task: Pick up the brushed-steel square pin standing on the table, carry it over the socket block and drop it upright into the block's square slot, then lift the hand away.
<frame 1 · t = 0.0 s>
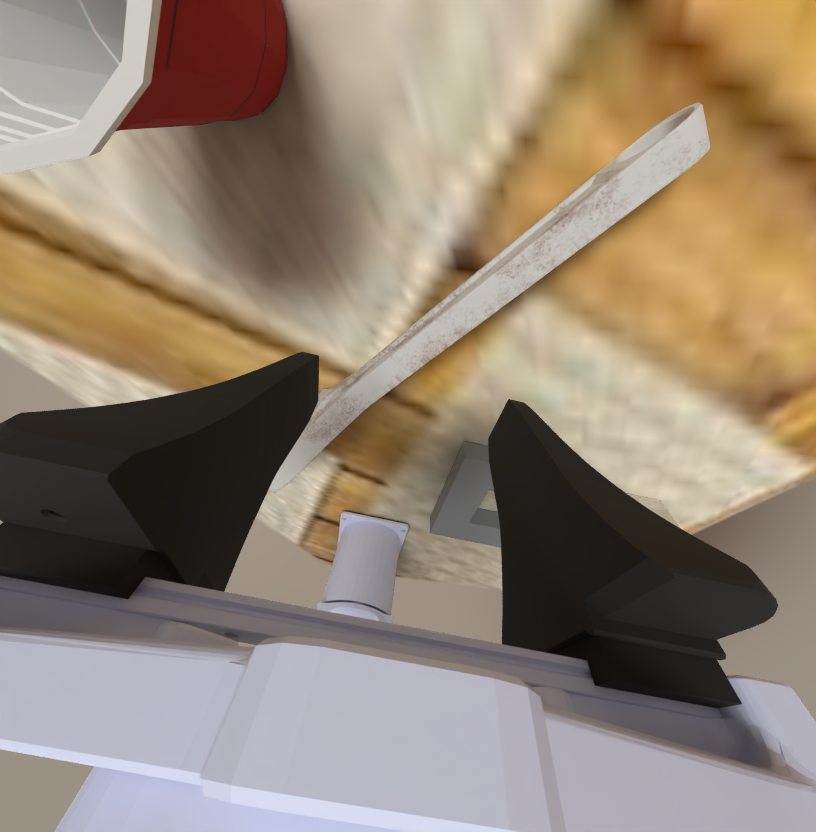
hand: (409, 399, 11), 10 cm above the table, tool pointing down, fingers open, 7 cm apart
plastic cup: (230, 25, 13), on the table
wrench: (420, 325, 20), on the table
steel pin: (626, 508, 29), on the table
socket block: (502, 495, 29), on the table
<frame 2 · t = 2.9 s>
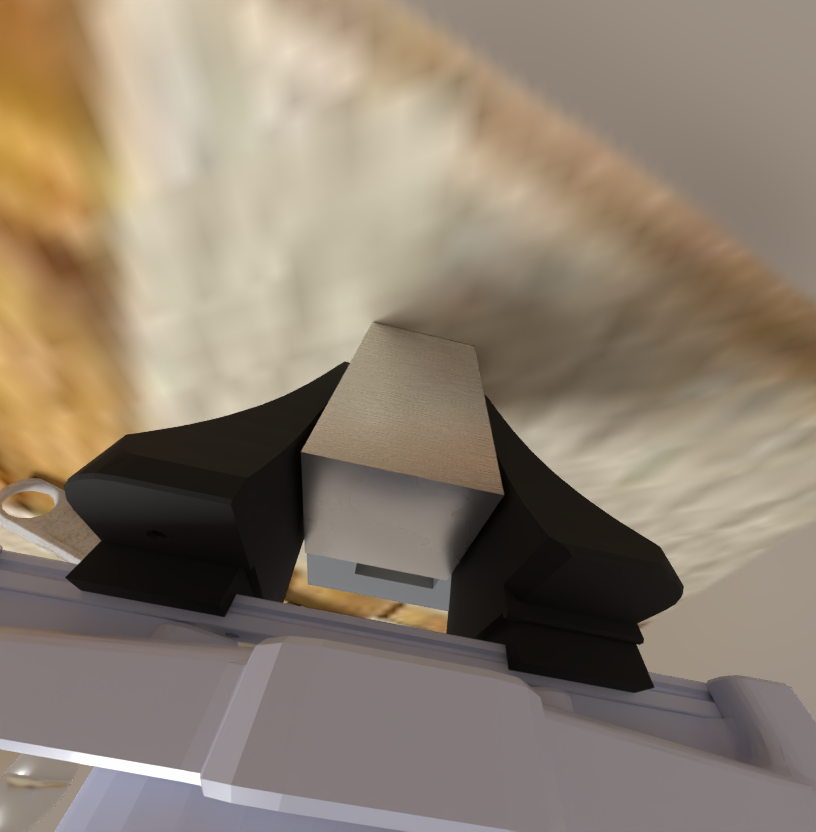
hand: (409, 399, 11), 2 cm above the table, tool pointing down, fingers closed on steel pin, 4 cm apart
wrench: (219, 563, 27), on the table
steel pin: (413, 378, 12), on the table, touching gripper
socket block: (404, 533, 20), on the table
plastic bottle: (142, 628, 43), on the table
when the fingers open (3 cm above the table, at t = 7.2 s): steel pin drops 1 cm, resting in socket block.
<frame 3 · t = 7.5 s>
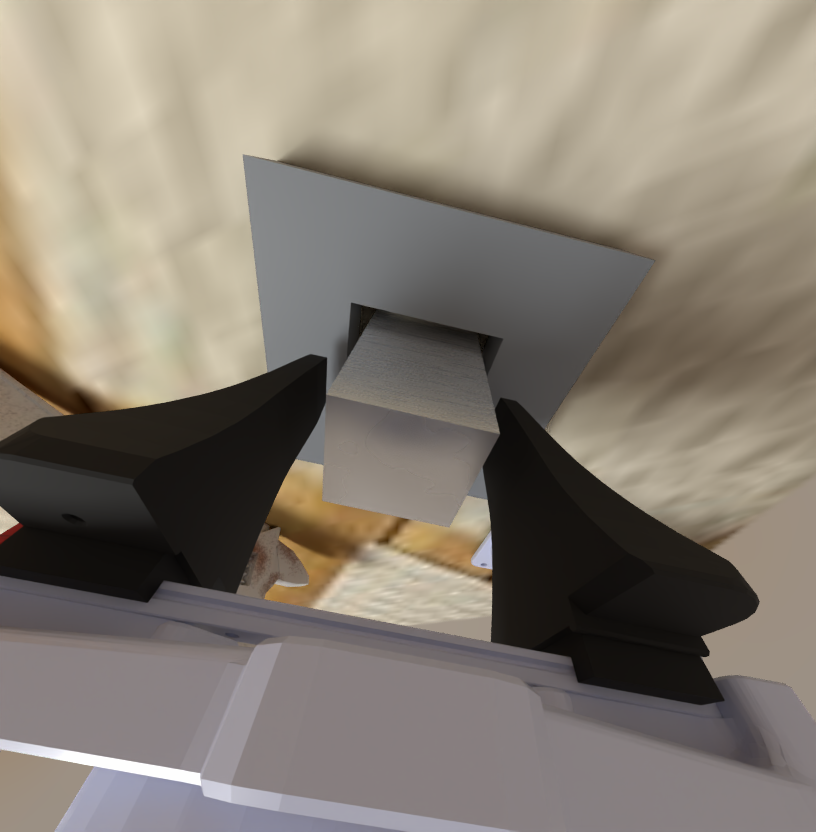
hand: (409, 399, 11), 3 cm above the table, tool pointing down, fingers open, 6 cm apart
wrench: (166, 459, 20), on the table
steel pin: (417, 356, 13), resting in socket block
socket block: (415, 363, 13), on the table
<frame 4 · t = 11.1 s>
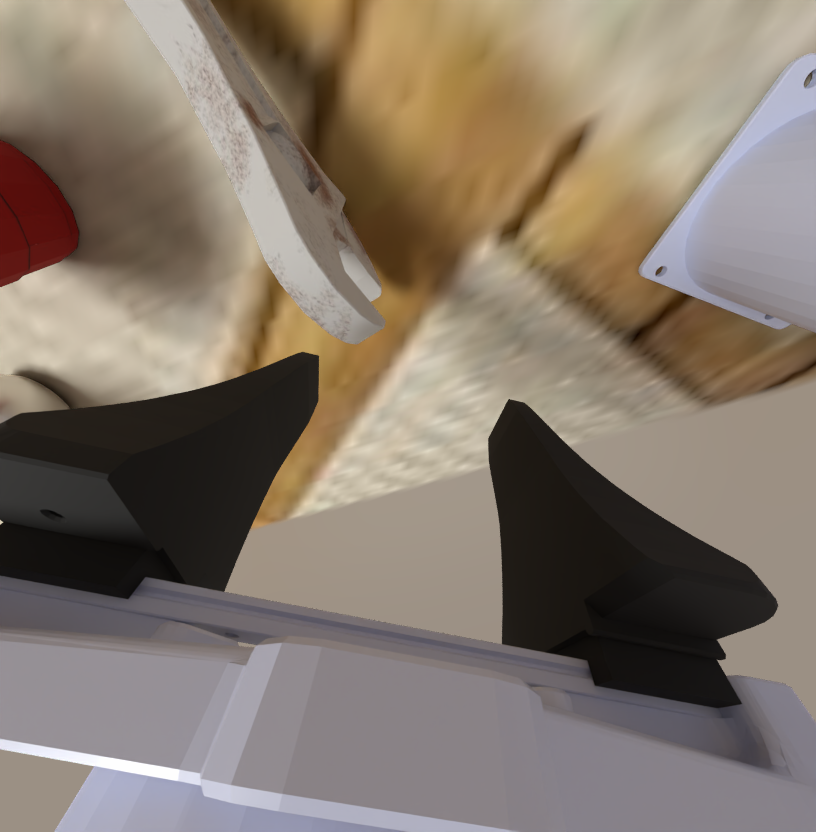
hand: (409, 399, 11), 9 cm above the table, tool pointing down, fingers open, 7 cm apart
plastic cup: (25, 197, 17), on the table
plastic bottle: (48, 396, 26), on the table
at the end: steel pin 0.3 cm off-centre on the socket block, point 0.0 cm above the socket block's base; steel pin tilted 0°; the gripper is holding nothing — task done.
